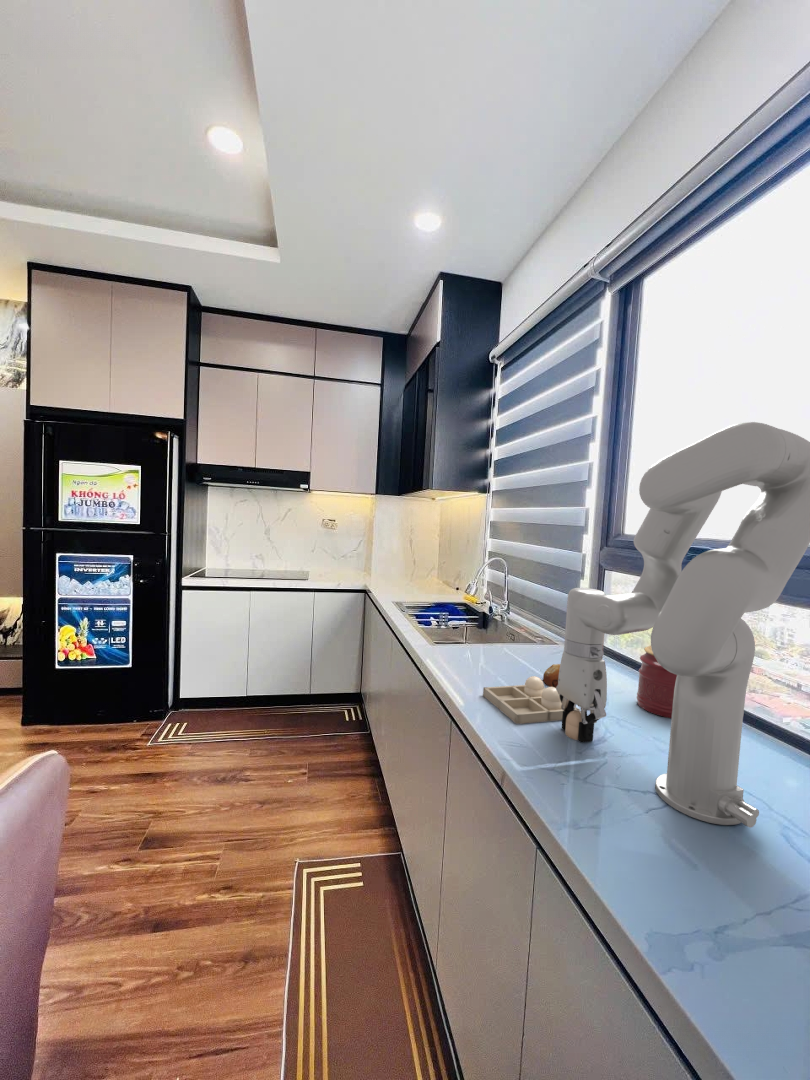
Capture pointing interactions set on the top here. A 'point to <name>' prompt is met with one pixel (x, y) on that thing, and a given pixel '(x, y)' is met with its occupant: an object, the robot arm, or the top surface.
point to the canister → (655, 686)
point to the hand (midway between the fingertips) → (576, 734)
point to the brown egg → (573, 724)
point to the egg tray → (520, 705)
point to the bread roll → (552, 675)
